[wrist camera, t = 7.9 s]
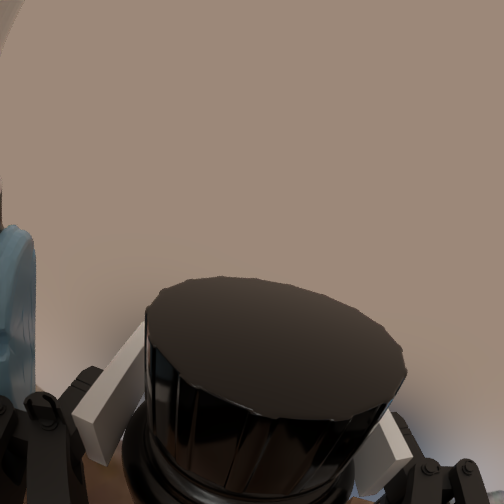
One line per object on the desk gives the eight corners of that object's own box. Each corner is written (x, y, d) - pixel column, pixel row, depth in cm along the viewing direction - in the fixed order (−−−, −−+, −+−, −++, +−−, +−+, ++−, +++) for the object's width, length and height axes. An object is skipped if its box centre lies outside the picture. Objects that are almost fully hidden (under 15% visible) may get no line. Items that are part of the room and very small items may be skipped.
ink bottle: (139, 574, 4) (18, 477, 1) (127, 446, 12) (115, 253, 9) (334, 543, 7) (496, 382, 4) (277, 441, 15) (338, 277, 12)
